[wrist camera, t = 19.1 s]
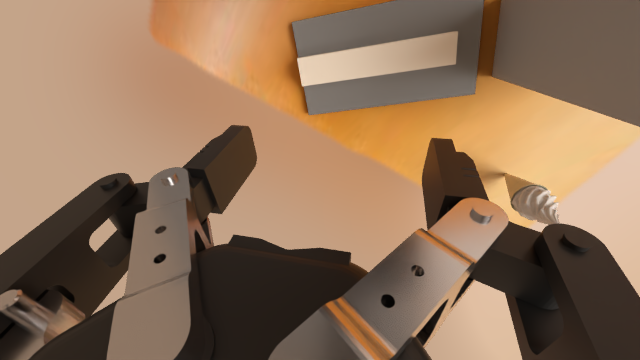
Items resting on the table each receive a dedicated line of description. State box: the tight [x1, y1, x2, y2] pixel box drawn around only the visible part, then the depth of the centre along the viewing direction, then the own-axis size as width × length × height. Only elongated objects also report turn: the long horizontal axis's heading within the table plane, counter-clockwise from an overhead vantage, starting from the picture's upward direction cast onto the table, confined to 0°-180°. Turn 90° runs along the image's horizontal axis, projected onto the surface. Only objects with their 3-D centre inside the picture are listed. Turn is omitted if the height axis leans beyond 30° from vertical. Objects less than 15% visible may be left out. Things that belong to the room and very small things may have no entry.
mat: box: [292, 0, 484, 115], centre depth 40 cm, size 26×14×1 cm, turn 99°
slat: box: [297, 31, 458, 86], centre depth 39 cm, size 22×4×2 cm, turn 99°
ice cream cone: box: [504, 173, 559, 225], centre depth 40 cm, size 5×5×15 cm
